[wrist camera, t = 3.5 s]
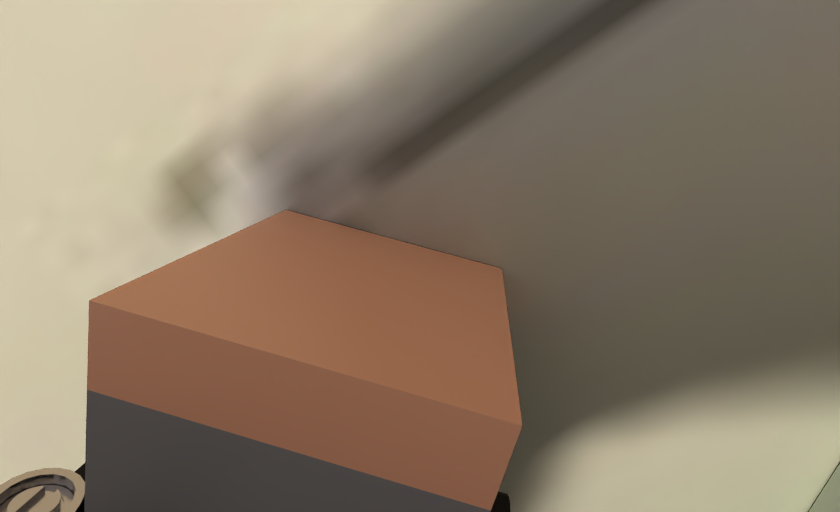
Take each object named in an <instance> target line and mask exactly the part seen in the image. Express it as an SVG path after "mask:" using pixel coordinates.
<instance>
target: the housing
mask: <svg viewBox="0 0 840 512" xmlns="http://www.w3.org/2000/svg"><path fill="white" fill-rule="evenodd" d="M521 428H522V418H521V410H520V403H519V395H518V388H517V380H516V373H515V365H514V357H513V350H512V342H511V335H510V327H509V319H508V312H507V304H506V297H505V289H504V281H503V274H502V269H501V268H498V267H494V266H490V265H487V264H483V263H479V262H476V261H472V260H468V259H465V258H461V257H457V256H453V255H450V254H446V253H442V252H439V251H435V250H431V249H428V248H424V247H420V246H417V245H413V244H409V243H406V242H402V241H398V240H395V239H391V238H387V237H384V236H380V235H376V234H373V233H369V232H365V231H362V230H358V229H354V228H351V227H347V226H343V225H340V224H336V223H332V222H328V221H325V220H321V219H317V218H314V217H310V216H306V215H303V214H299V213H295V212H292V211H288V210H284V211H282V212H280V213H278V214H276V215H273V216H271V217H269V218H267V219H265V220H263V221H260V222H258V223H256V224H254V225H252V226H250V227H247V228H245V229H243V230H241V231H239V232H237V233H234V234H232V235H230V236H228V237H226V238H224V239H221V240H219V241H217V242H215V243H213V244H211V245H208V246H206V247H204V248H202V249H200V250H198V251H195V252H193V253H191V254H189V255H187V256H185V257H182V258H180V259H178V260H176V261H174V262H172V263H169V264H167V265H165V266H163V267H161V268H159V269H156V270H154V271H152V272H150V273H148V274H145V275H143V276H141V277H139V278H137V279H135V280H132V281H130V282H128V283H126V284H124V285H122V286H119V287H117V288H115V289H113V290H111V291H109V292H106V293H104V294H102V295H100V296H98V297H96V298H93V299H91V300H89V333H88V376H87V418H86V461H85V504H84V512H491V509H492V506H493V504H494V501H495V498H496V496H497V493H498V490H499V487H500V485H501V482H502V479H503V477H504V474H505V471H506V469H507V466H508V463H509V461H510V458H511V455H512V453H513V450H514V447H515V445H516V442H517V439H518V436H519V434H520V431H521Z"/></svg>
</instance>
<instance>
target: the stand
mask: <svg viewBox="0 0 840 512" xmlns="http://www.w3.org/2000/svg"><path fill="white" fill-rule="evenodd" d="M809 512H840V464H839V465H838V467H837V468H836V470H835V472H834V473H833V475H832V476H831V478H830V479H829V481H828V482H827V484H826V486H825V487H824V489H823V490H822V492H821V493H820V495H819V497H818V498H817V500H816V501H815V503H814V504H813V506H812V507H811V509H810V511H809Z"/></svg>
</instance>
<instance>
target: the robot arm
mask: <svg viewBox="0 0 840 512" xmlns="http://www.w3.org/2000/svg"><path fill="white" fill-rule="evenodd" d="M84 504H85V463H84V464H83V465H82V466H81V467H80V468H79V469H77V470H76V471H75V472H73V471H71V470H67V469H62V468H43V469H39V470H34V471H30V472H26V473H24V474H21V475H19V476H16V477H14V478H12V479H10V480H8V481H6V482H5V483H3V484H1V485H0V512H84ZM491 512H510V502H509V496H508V495H507V494H505V493H502V492H499V491H498V493H497V496H496V498H495V501H494V504H493V506H492V509H491Z"/></svg>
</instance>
